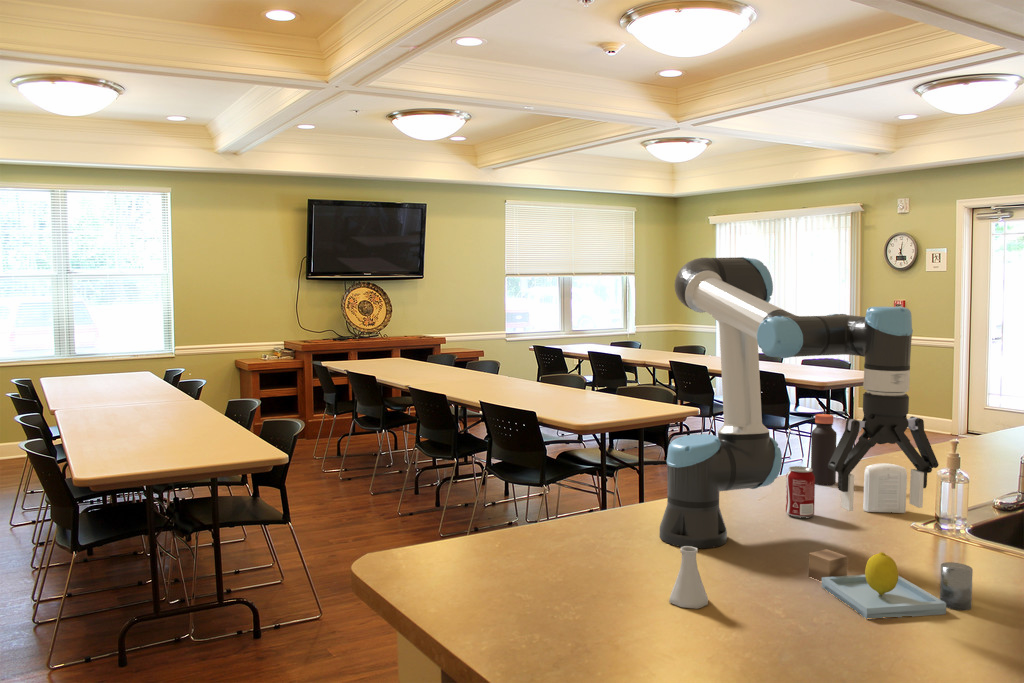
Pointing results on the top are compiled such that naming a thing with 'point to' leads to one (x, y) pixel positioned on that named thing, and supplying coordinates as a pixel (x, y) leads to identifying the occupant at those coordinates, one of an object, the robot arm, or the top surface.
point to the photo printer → (885, 488)
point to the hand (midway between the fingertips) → (881, 507)
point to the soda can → (800, 492)
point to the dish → (883, 598)
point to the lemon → (881, 573)
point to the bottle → (823, 449)
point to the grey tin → (956, 585)
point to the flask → (689, 582)
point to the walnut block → (827, 564)
